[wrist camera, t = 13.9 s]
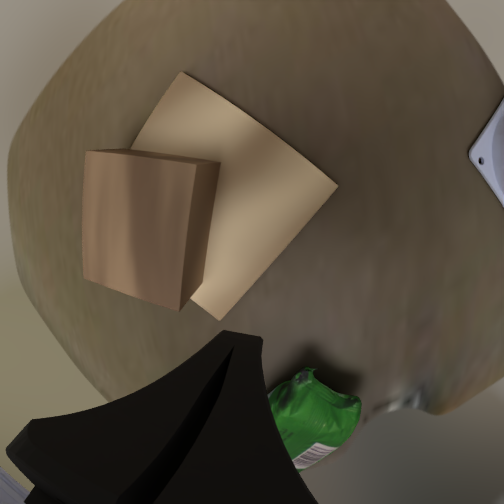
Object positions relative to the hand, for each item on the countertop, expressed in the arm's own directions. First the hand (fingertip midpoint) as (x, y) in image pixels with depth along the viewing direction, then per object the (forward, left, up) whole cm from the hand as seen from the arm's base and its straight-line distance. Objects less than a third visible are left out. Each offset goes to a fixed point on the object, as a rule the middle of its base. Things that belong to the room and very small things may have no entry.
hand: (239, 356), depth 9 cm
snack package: (-10, +11, -10) cm, 18 cm away
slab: (+4, +1, -7) cm, 9 cm away
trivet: (+6, 0, -10) cm, 12 cm away
